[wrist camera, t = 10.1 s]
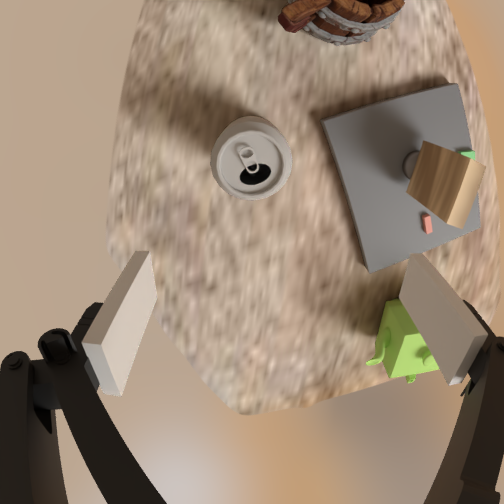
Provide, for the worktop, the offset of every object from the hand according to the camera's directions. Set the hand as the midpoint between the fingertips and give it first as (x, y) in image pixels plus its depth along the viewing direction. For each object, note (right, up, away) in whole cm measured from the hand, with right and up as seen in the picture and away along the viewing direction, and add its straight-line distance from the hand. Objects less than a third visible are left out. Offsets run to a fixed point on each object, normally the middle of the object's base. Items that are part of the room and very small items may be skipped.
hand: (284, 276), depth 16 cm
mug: (+7, +30, +14) cm, 34 cm away
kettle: (+24, -9, +35) cm, 43 cm away
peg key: (+23, +11, +21) cm, 33 cm away
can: (-2, +14, +22) cm, 27 cm away
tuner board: (+20, +11, +24) cm, 33 cm away
